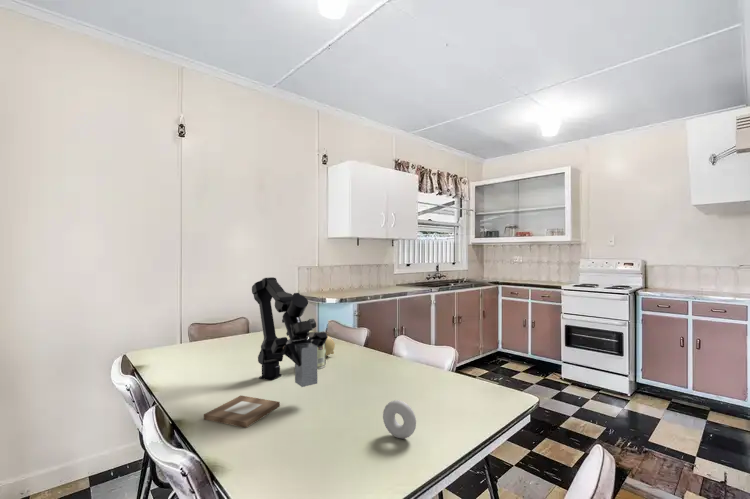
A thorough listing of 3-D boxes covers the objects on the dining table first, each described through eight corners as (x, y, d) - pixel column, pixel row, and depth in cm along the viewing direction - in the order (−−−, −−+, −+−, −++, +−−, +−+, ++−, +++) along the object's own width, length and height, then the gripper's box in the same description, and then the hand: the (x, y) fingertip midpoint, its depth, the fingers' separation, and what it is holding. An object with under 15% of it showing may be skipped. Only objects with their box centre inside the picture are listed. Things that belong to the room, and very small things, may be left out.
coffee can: (309, 361, 174) (309, 331, 174) (329, 363, 170) (329, 332, 171) (297, 368, 164) (297, 336, 164) (319, 370, 161) (318, 337, 161)
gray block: (295, 382, 127) (294, 345, 127) (310, 379, 130) (309, 342, 130) (302, 387, 122) (301, 348, 122) (317, 383, 125) (317, 345, 125)
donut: (380, 435, 104) (380, 398, 104) (387, 430, 107) (386, 394, 107) (412, 445, 98) (412, 407, 98) (418, 440, 101) (418, 402, 101)
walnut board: (203, 419, 115) (203, 413, 115) (240, 399, 130) (240, 395, 130) (246, 427, 109) (246, 422, 109) (279, 406, 124) (279, 401, 124)
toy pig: (323, 352, 190) (323, 331, 191) (338, 356, 182) (338, 334, 182) (307, 356, 184) (307, 334, 184) (322, 361, 175) (322, 338, 175)
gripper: (274, 314, 124) (287, 355, 115) (325, 308, 135) (340, 346, 126) (266, 334, 130) (278, 374, 121) (315, 327, 141) (329, 364, 132)
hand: (307, 364), depth 125 cm, fingers closed on gray block, 5 cm apart
